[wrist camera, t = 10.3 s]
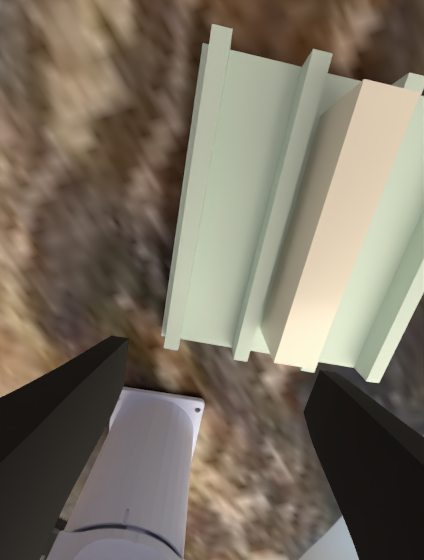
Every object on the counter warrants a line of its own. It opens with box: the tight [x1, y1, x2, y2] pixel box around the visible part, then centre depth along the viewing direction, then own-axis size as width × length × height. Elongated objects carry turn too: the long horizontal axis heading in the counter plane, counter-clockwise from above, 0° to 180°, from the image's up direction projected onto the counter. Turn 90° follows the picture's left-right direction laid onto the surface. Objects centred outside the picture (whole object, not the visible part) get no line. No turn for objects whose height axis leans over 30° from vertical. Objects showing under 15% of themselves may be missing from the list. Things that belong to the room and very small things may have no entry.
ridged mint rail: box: [161, 24, 424, 383], centre depth 15 cm, size 18×17×2 cm
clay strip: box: [260, 79, 421, 369], centre depth 14 cm, size 14×2×4 cm, turn 169°
